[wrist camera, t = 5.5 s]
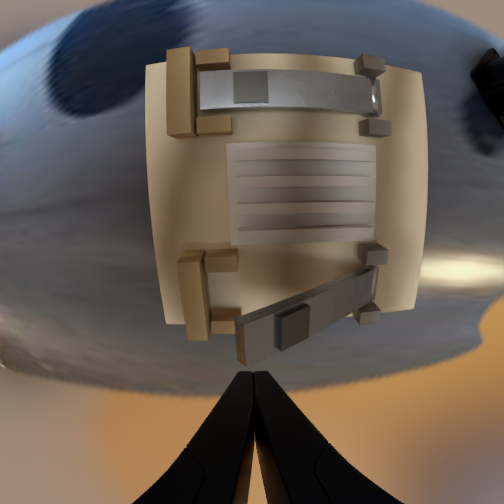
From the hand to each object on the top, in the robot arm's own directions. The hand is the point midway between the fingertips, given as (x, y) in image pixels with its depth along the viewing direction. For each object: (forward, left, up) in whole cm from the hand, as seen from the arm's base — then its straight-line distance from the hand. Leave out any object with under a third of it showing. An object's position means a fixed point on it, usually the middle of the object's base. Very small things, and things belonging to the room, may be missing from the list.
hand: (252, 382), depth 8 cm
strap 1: (-10, -5, -12) cm, 16 cm away
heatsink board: (-5, -1, -13) cm, 14 cm away
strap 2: (-1, +4, -9) cm, 10 cm away
